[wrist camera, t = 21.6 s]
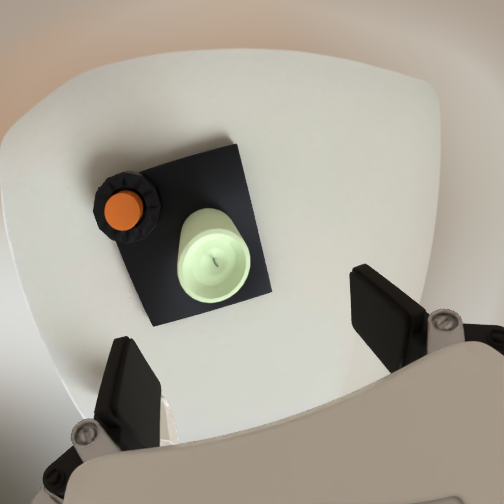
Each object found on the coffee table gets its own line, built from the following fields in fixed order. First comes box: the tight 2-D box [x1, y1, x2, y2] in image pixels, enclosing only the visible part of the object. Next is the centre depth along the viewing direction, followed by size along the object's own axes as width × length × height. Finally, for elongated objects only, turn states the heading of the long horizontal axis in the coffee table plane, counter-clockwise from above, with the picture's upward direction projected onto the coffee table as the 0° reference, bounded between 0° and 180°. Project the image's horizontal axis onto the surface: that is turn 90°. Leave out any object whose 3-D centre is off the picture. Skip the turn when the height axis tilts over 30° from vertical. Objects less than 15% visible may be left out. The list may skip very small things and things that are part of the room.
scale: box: [93, 144, 272, 327], centre depth 25 cm, size 15×14×3 cm
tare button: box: [105, 190, 143, 231], centre depth 21 cm, size 3×3×2 cm
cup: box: [160, 396, 180, 447], centre depth 28 cm, size 7×10×8 cm
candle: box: [177, 208, 250, 303], centre depth 21 cm, size 5×5×8 cm
